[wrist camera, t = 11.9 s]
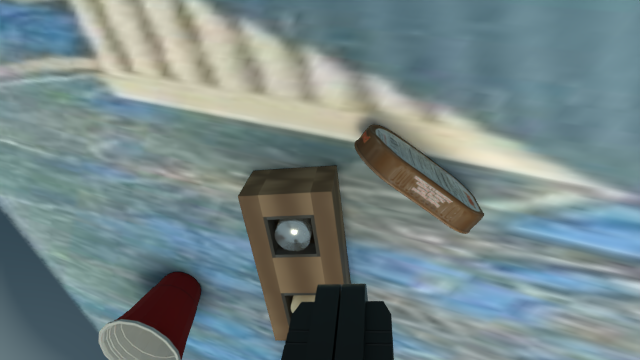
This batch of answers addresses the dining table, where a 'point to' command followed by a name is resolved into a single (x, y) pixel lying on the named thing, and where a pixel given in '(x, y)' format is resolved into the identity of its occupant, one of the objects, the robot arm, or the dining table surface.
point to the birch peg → (301, 300)
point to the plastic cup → (154, 322)
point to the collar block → (294, 266)
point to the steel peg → (294, 233)
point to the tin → (418, 178)
